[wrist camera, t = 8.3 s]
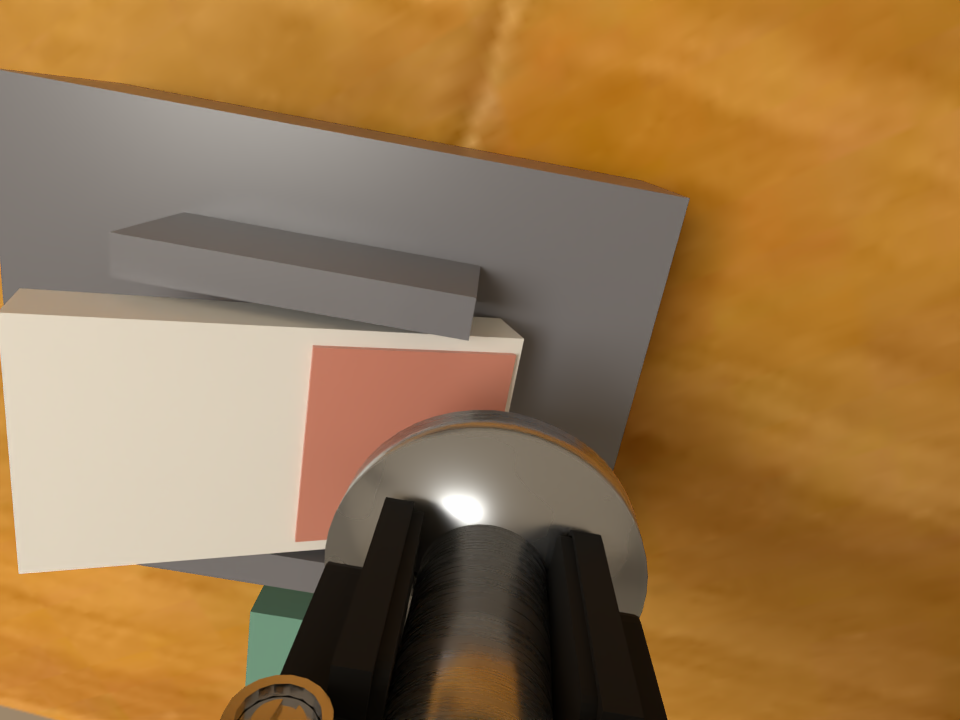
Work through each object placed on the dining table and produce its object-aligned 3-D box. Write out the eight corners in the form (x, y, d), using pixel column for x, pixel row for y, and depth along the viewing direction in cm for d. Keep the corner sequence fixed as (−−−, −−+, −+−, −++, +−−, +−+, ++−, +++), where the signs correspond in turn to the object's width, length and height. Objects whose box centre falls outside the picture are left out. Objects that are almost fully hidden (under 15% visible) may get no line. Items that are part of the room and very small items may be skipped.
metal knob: (641, 369, 16) (926, 986, 4) (583, 570, 18) (676, 1347, 6) (398, 322, 16) (56, 808, 4) (369, 527, 18) (85, 1218, 6)
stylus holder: (471, 568, 28) (467, 646, 24) (443, 705, 31) (434, 798, 26) (288, 537, 28) (250, 611, 23) (275, 679, 30) (239, 768, 26)
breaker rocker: (500, 318, 18) (526, 340, 16) (464, 504, 20) (484, 539, 18) (19, 288, 13) (-6, 315, 12) (36, 529, 15) (16, 578, 14)
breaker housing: (641, 180, 22) (736, 215, 13) (554, 521, 27) (582, 715, 18) (118, 83, 22) (-149, 51, 13) (123, 448, 26) (-69, 612, 17)
